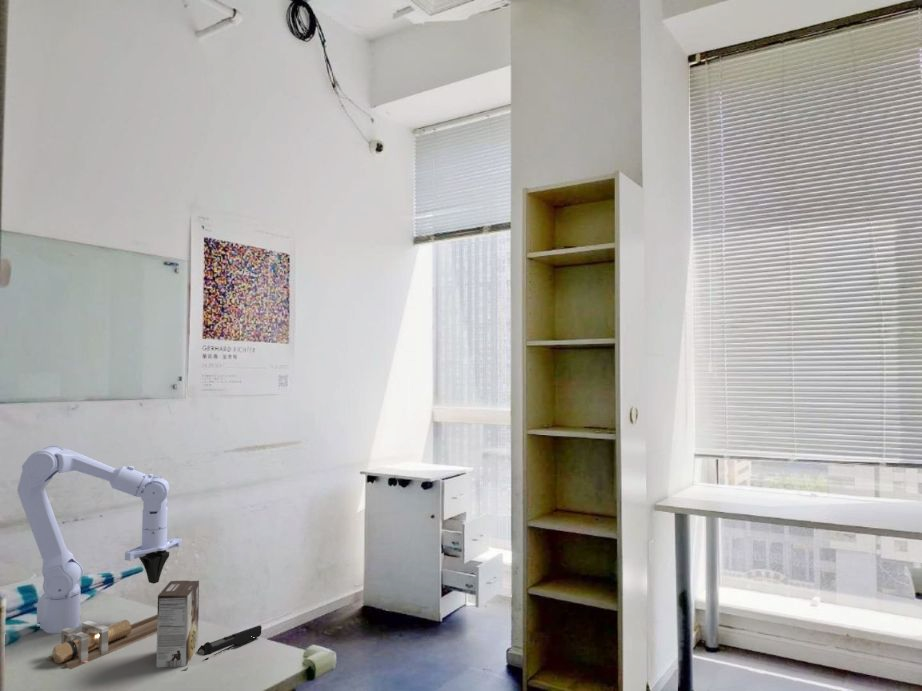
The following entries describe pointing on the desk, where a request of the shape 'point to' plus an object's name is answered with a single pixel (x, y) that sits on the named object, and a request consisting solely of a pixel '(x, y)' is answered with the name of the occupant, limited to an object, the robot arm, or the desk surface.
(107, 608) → the desk surface
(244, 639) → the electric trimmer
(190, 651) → the coffee box
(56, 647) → the thermos bottle
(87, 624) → the board
